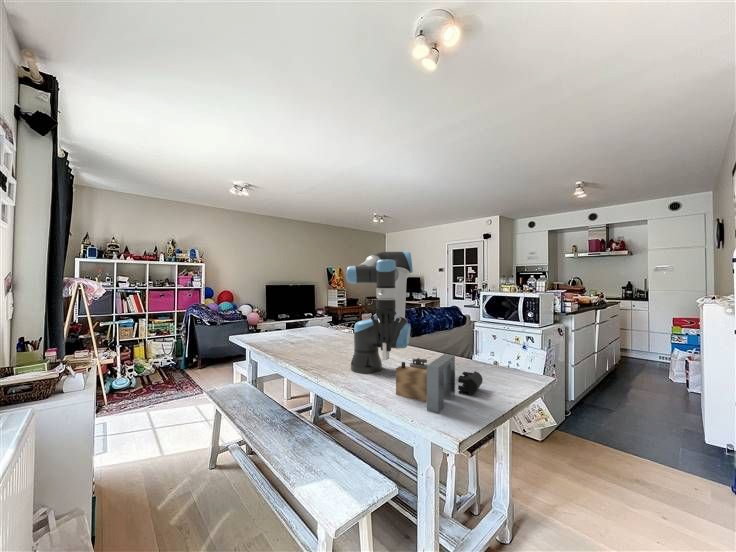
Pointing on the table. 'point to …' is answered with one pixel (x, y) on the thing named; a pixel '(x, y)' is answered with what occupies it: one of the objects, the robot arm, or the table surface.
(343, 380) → the table surface
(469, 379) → the end cap
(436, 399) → the housing
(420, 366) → the lighter
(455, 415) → the table surface
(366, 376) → the table surface
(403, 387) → the plug
